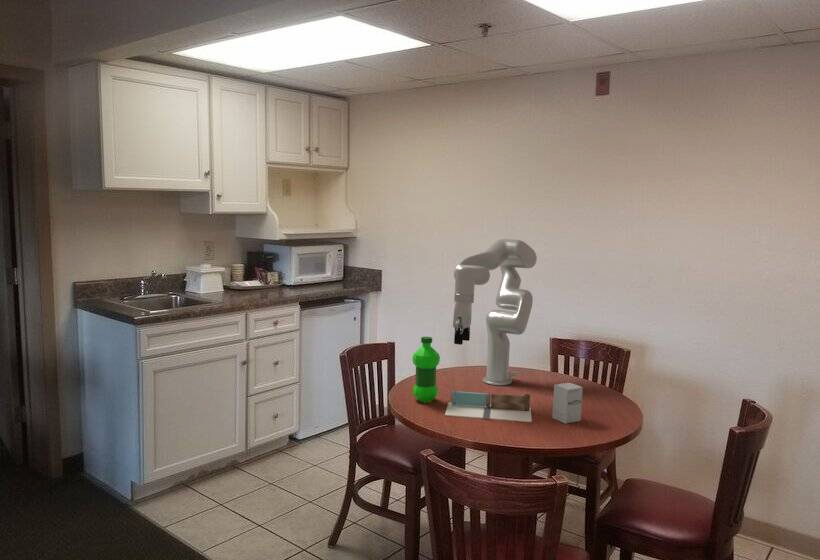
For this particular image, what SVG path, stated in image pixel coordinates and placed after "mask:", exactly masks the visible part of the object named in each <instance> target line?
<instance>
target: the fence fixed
mask: <svg viewBox="0 0 820 560" xmlns="http://www.w3.org/2000/svg"><path fill="white" fill-rule="evenodd" d="M530 404H531V394H530V393H525V394H524V395H516V394H499V393H490V405H491V408H500V409H514V410H525V411H529V408H531V407H530V406H531V405H530Z"/></svg>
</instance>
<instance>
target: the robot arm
mask: <svg viewBox="0 0 820 560" xmlns="http://www.w3.org/2000/svg"><path fill="white" fill-rule="evenodd" d="M537 258H538V257H537V254H536V252H535V249H533V248H532V247H531V246H530V245H528V244H527V242H525V241H523V240H521V239H511V238H508V239H507V238H501V239H498V240H496V241H494V243H493V244H491V245H490V246H489V247H488V248H486V249H485V251H483V252H480V253H477V254H474V255H471V256H468V257H466V258H464V259H463V260H461V261H460V262H459V263H458V264H457V265H456V267H455V269H454V271H453V278H454V280H455V282H454V298H453V299H454V300H453V301H454V302H453V303H454V311H453V318H452V319H453V320H452V328H454V339H453V341H454V342H453V343H454V345H460V346H461V345H463V341H466V342H467V341H469V342H470V335H471V325H472V313H473V312H472V311H473V310H472V308H473V306H472V305H473V303H475V289H476V288H475V286H484V285H486V284H487V283H488V282H489V281H490V277H491V273H490V271H493V270H496V269H498V268H500V271H501V281H500V284H499V286H498V289H497V290H498V291H497V293H496V294H497V295H496V297H495V305H496V307H498V308H499V309H494V310H493V309H492V310H491V311H489V312H488V313H487V315H486V317H485V324H486V331H487V353H486V375H485V376H483V378H482V382H483V383H485V384H488V385H492V386H507V385H508V386H509V385H510V384H512V382H513V380H512V378H511V377H517V376H518V371H515V370H514V371H510V348H511V347H510V346H511V345H510V344H511V342H510V339H509V337H508V335H507V334H511V335H517V336H520V335H523V334H524V333H525V331H526V329H527V327H528V322H529V320H530V319H529V318H530V315H531V311H532V307H533V301H534V297H533V295H532V292H531V291H530V290H528V289H523V288H520V287H521V283H522V279H521V276H520V274H519V273H518V270H517V269H516V268H518V269H519V268H520V269H532V268H534V266H536V263H537Z"/></svg>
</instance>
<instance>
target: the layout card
mask: <svg viewBox="0 0 820 560" xmlns="http://www.w3.org/2000/svg"><path fill="white" fill-rule="evenodd" d="M531 410H532V409H531V407H530V408H529V411H525V410H514V409H500V408H491V404H490V407H486V404H485V407H483V406H469V405H456V404H455V405H453V404H451V401H449V402H448V403H447V407H446V410H445V413H444V417H454V418H455V417H456V418H467V417H468V418H469V419H482V420H494V421H509V422H524V423H533V422H532V411H531Z"/></svg>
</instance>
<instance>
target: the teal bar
mask: <svg viewBox="0 0 820 560" xmlns="http://www.w3.org/2000/svg"><path fill="white" fill-rule="evenodd" d="M450 402H451V404H453V405H455V404H456V405H469V406H483V407H485V405H486V407H490V405H491V393H490V392H489V393H487V392H485V393H483V392H470V391H457V390H452V391H451V400H450Z"/></svg>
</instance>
